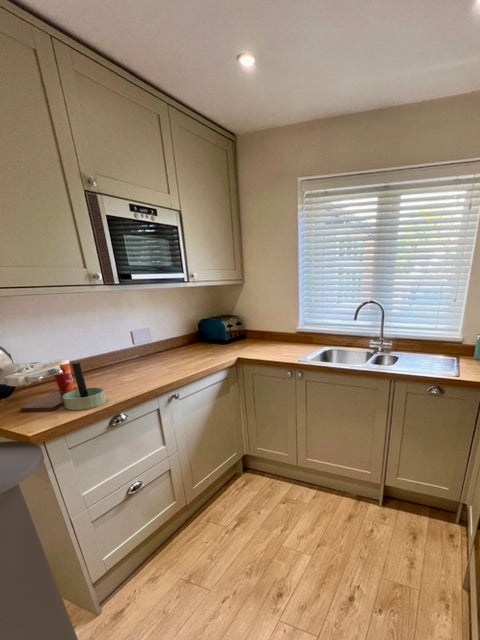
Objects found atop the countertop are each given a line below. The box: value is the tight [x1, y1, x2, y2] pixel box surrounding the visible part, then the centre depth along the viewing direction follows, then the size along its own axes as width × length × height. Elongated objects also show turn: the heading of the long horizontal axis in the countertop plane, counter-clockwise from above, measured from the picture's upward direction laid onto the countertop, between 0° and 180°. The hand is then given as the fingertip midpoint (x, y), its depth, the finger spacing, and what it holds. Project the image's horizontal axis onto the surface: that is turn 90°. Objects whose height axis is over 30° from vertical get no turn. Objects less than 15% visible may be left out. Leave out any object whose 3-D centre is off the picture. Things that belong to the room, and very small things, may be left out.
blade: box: [71, 361, 89, 398], centre depth 133 cm, size 9×9×17 cm
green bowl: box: [62, 386, 107, 411], centre depth 136 cm, size 14×14×5 cm
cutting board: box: [20, 391, 70, 413], centre depth 139 cm, size 20×12×2 cm, turn 2°
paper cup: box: [49, 358, 75, 392], centre depth 152 cm, size 8×8×14 cm
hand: (51, 375), depth 134 cm, fingers open, 8 cm apart
